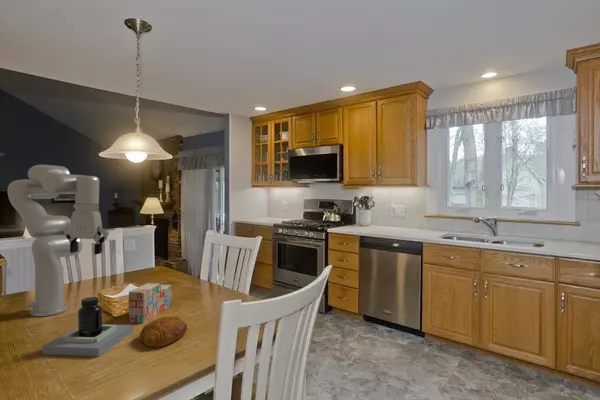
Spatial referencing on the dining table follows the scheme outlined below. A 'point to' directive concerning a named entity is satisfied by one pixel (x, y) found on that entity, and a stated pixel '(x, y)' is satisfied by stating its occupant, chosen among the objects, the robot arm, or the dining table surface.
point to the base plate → (88, 341)
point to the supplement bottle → (90, 318)
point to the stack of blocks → (148, 301)
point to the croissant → (162, 331)
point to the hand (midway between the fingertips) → (85, 252)
